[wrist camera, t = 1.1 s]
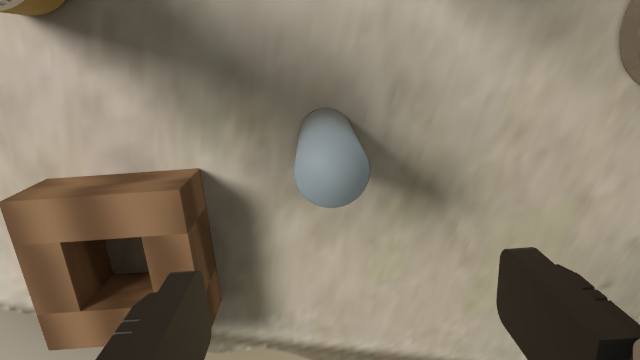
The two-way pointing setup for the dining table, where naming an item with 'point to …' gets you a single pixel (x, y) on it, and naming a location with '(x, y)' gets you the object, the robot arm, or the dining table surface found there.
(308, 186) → the peg
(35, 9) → the brown bark cylinder
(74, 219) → the socket block
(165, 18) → the dining table surface
